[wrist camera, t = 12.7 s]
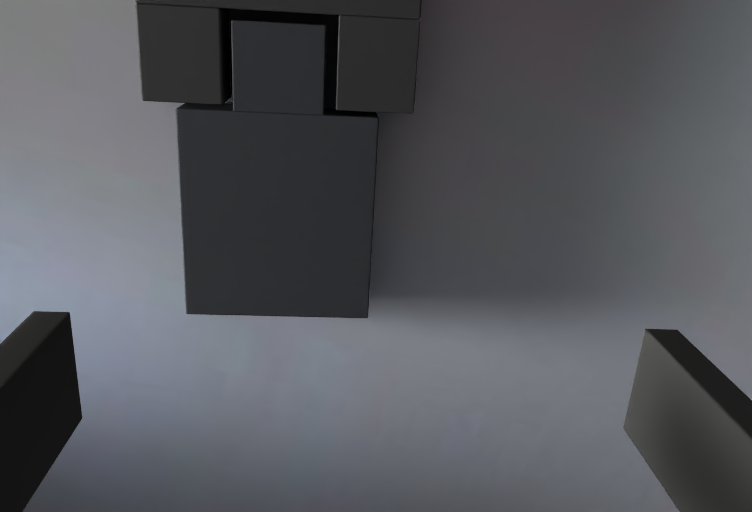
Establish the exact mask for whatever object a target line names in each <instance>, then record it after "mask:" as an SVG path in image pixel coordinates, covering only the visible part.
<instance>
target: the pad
mask: <svg viewBox="0 0 752 512" xmlns="http://www.w3.org/2000/svg"><path fill="white" fill-rule="evenodd" d="M231 34H232V82H233V104H228V103H223V104H200V103H185V104H183V105H182V106H180V107H178V108H177V109H176V124H177V143H178V163H179V183H180V203H181V223H182V243H183V263H184V282H185V302H186V314H209V315H253V316H296V317H340V318H368V308H369V289H370V271H371V253H372V235H373V217H374V199H375V181H376V163H377V145H378V127H379V118H378V116H377V113H376V112H366V111H345V110H336V109H334V108H324V98H325V60H326V25H324V24H306V23H289V22H271V21H254V20H232V21H231Z"/></svg>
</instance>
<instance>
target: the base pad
mask: <svg viewBox="0 0 752 512" xmlns="http://www.w3.org/2000/svg"><path fill="white" fill-rule="evenodd" d="M135 1H136V3H137V4H136V20H137V35H138V49H139V64H140V79H141V94H142V100H143V101H158V102H179V103H200V104H223V103H224V102H225V101H227V100H228V99H229V98H230V97H231V87H230V40H229V10H228V9H244V10H261V11H279V12H296V13H313V14H330V15H339V25H338V55H337V86H336V110H345V111H366V112H387V113H408V114H413V113H414V101H415V87H416V74H417V60H418V46H419V33H420V20H418V19H420V17H421V4H422V0H135Z"/></svg>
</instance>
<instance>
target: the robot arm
mask: <svg viewBox="0 0 752 512" xmlns="http://www.w3.org/2000/svg"><path fill="white" fill-rule="evenodd" d="M81 419H82V412H81V404H80V396H79V387H78V379H77V371H76V362H75V354H74V346H73V337H72V329H71V320H70V312H38V311H34V312H33V313H32V314H31V315H30V316H29V317H28V318H26V319H25V320H24V321H23V322H22V323H21V324H20V325H19V326H18V327H17V328H16V329H15V330H14V331H13V332H12V333H11V334H10V335H9V336H8V337H7V338H6V339H5V340H4V341H3V342H2V343H1V344H0V512H23V510H24V508H25V507H26V505H27V504H28V502H29V501H30V499H31V497H32V496H33V494H34V493H35V491H36V490H37V488H38V487H39V485H40V483H41V482H42V480H43V479H44V477H45V476H46V474H47V472H48V471H49V469H50V468H51V466H52V465H53V463H54V462H55V460H56V458H57V457H58V455H59V454H60V452H61V451H62V449H63V447H64V446H65V444H66V443H67V441H68V440H69V438H70V437H71V435H72V433H73V432H74V430H75V429H76V427H77V426H78V424H79V422H80V421H81ZM624 430H625V431H626V433H627V434H628V436H629V437H630V439H631V440H632V442H633V443H634V445H635V446H636V448H637V449H638V451H639V452H640V454H641V455H642V456H643V458H644V459H645V461H646V462H647V464H648V465H649V467H650V468H651V470H652V471H653V473H654V474H655V476H656V477H657V479H658V480H659V482H660V483H661V485H662V486H663V488H664V489H665V491H666V492H667V494H668V495H669V497H670V498H671V499H672V501H673V502H674V504H675V505H676V507H677V508H678V510H679V511H680V512H752V400H751V399H749V398H748V397H747V396H746V395H745V394H744V393H743V392H742V391H741V390H740V389H739V388H738V387H737V386H736V385H735V384H734V383H733V382H732V381H731V380H729V379H728V378H727V377H726V376H725V375H724V374H723V373H722V372H721V371H720V370H719V369H718V368H717V367H716V366H715V365H714V364H713V363H712V362H711V361H709V360H708V359H707V358H706V357H705V356H704V355H703V354H702V353H701V352H700V351H699V350H698V349H697V348H696V347H695V346H694V345H693V344H692V343H691V342H689V341H688V340H687V339H686V338H685V337H684V336H683V335H682V334H681V333H680V332H679V331H678V330H665V329H645V334H644V338H643V343H642V347H641V352H640V356H639V361H638V365H637V370H636V374H635V379H634V383H633V388H632V392H631V397H630V401H629V406H628V410H627V415H626V419H625V424H624Z"/></svg>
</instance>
